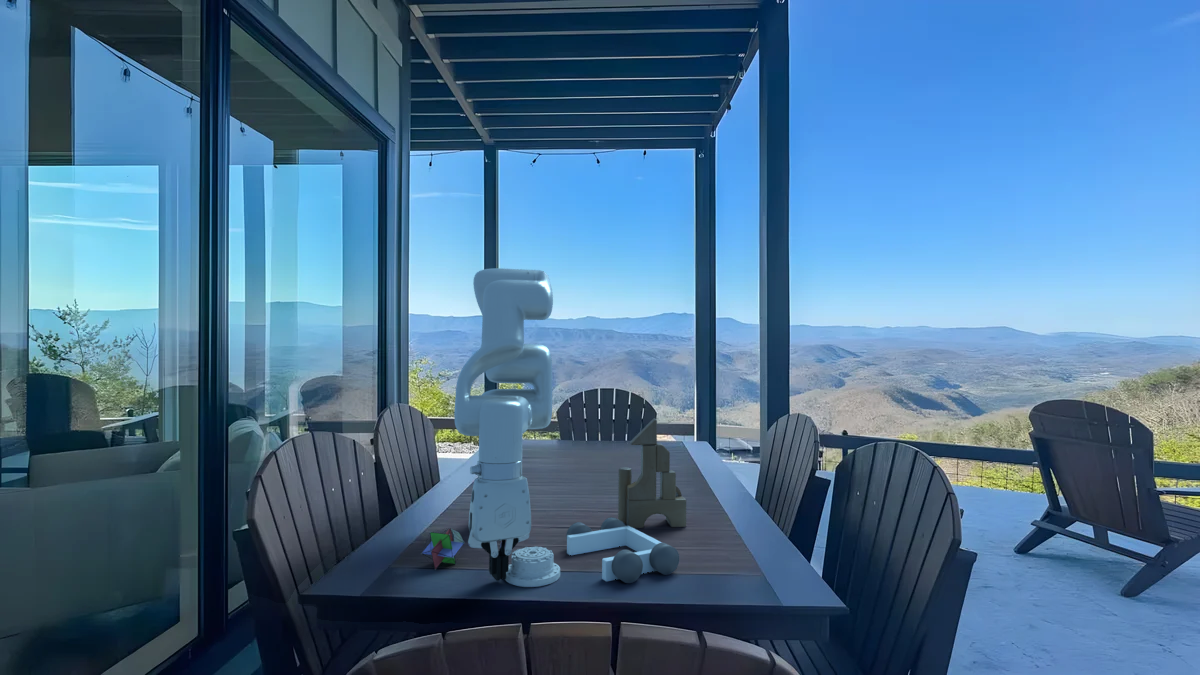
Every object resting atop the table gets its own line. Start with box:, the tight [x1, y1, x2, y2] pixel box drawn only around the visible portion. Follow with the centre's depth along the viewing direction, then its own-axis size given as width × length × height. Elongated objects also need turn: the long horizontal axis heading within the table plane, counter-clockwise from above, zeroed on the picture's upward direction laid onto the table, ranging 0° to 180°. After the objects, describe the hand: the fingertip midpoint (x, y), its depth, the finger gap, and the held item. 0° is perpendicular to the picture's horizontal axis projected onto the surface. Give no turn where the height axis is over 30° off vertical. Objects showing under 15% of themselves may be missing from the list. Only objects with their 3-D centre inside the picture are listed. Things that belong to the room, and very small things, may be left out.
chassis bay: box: [565, 517, 680, 584], centre depth 107 cm, size 21×14×5 cm
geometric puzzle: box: [420, 527, 465, 571], centre depth 104 cm, size 7×7×8 cm
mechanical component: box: [504, 546, 561, 588], centre depth 99 cm, size 10×4×10 cm
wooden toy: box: [617, 418, 687, 529], centre depth 132 cm, size 16×7×25 cm, turn 96°
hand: (498, 577), depth 95 cm, fingers closed
